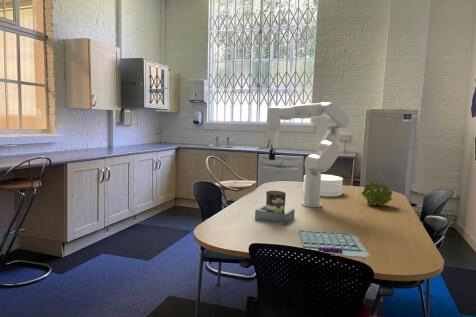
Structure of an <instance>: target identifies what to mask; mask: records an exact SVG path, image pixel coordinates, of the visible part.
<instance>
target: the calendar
mask: <svg viewBox="0 0 476 317" xmlns="http://www.w3.org/2000/svg"><path fill="white" fill-rule="evenodd" d="M298 233H299V238H300V242H301V245H302V249H303V248H308V249H314V250H318V251H323V252H327V253H332V254H335V255H334V256H338V255H340V256H342V257H354V258H372V259H373V257H371V255H372V254H370V252H368V249H366V248H365V247H366V246H365V245H363V242H360V239H359V237H358V236H356V235H353V234H351V233H350V232H335V231H322V230H320V231H318V230H305V229H304V230H303V229H302V230H301V229H299V230H298ZM340 256H339V257H340Z"/></svg>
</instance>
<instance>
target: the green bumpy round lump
mask: <svg viewBox="0 0 476 317" xmlns="http://www.w3.org/2000/svg"><path fill="white" fill-rule="evenodd" d="M360 193H361V195H362V196H363V197H364V199H366V203H367V205H370V206H372V205H373V206H376V205H377V206H379V207H383V206H384V205H385V204H389V203H390V201H392V200H393V197H392V196H393V191H391V187H388V186H387V185H386V184H385V185H384V184H383V183H381V184H379V182H376V183H375V182H374V181H372V180H370V182H369V184H367V185H364V188H363V191H361V192H360Z"/></svg>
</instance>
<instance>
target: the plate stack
mask: <svg viewBox="0 0 476 317" xmlns="http://www.w3.org/2000/svg"><path fill="white" fill-rule="evenodd" d="M343 180H344V178H343V177H341V176H337V175H333V174H324V173H323V174H322V173H321V187H320V197H339V196H342V194H343ZM302 186H303V187H302V188H303V189H302V192H303V193H304V192H305V175H303V185H302Z"/></svg>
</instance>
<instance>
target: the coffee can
mask: <svg viewBox="0 0 476 317" xmlns="http://www.w3.org/2000/svg"><path fill="white" fill-rule="evenodd" d="M265 193H266V194H265V195H266V197H265V205H266V211H271V212H277V213H283V214H285V213H286V209H285V208H286V195H287V194H286V192H285V191H280V190H267V191H266V192H265Z"/></svg>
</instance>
